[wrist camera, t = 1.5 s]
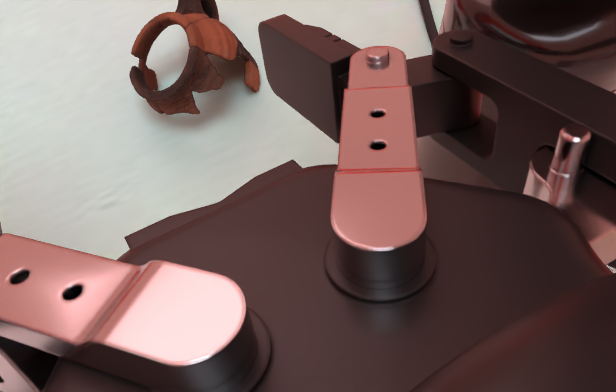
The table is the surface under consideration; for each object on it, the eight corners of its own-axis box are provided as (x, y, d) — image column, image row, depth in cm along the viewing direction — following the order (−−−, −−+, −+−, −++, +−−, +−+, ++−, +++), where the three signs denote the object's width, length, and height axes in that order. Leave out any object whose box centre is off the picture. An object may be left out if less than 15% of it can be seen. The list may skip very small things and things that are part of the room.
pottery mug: (272, 120, 44) (210, 91, 37) (188, 145, 48) (118, 123, 41) (260, -5, 47) (201, -55, 39) (181, 29, 51) (114, -10, 44)
